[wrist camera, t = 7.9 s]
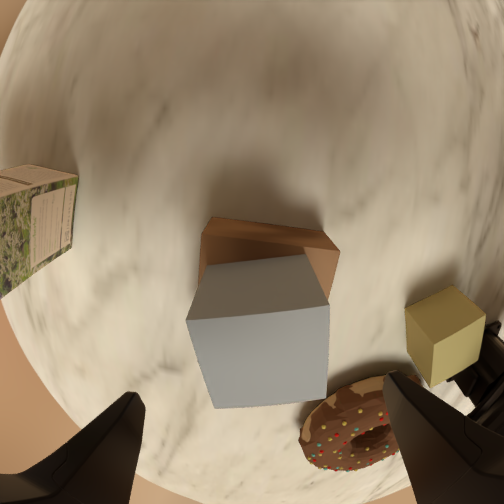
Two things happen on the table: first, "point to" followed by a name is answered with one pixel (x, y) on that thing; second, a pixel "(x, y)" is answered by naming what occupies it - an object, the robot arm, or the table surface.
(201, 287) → the slate cube
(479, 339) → the olive cube
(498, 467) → the robot arm
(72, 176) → the syrup box
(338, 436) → the donut
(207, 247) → the walnut slab
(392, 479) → the table surface
